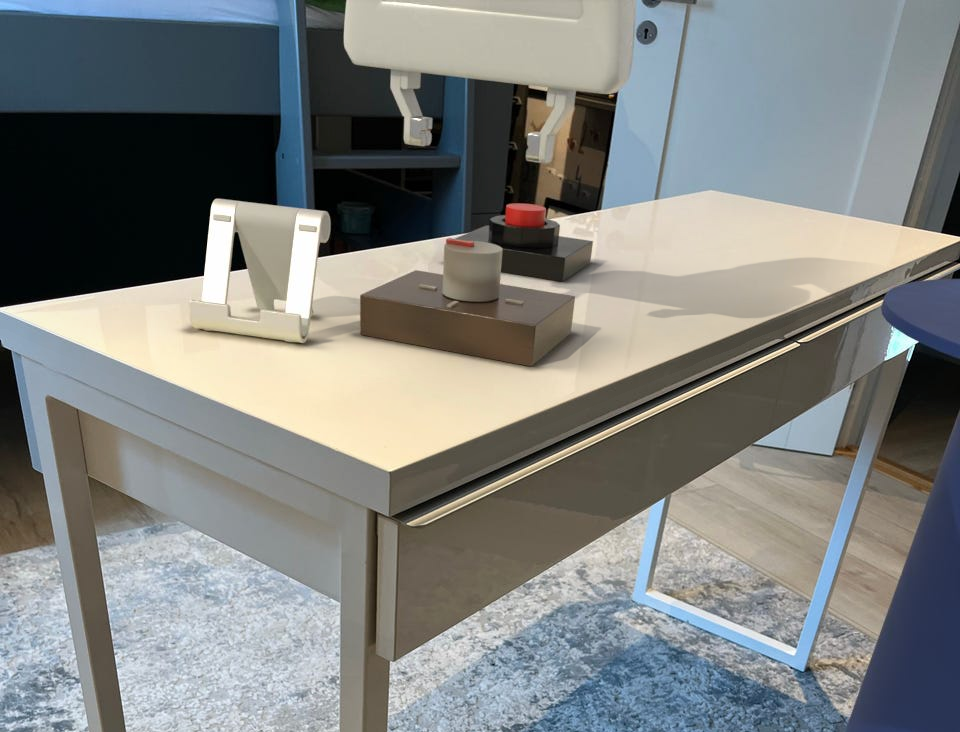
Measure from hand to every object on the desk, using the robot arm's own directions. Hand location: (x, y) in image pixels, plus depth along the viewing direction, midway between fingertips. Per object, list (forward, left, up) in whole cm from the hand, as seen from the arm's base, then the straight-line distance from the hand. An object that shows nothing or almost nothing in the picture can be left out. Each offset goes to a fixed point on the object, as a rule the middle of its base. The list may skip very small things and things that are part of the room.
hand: (477, 153), depth 69 cm
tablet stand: (+14, +7, -13) cm, 20 cm away
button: (+5, -27, -9) cm, 29 cm away
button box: (+5, -27, -13) cm, 30 cm away
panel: (0, 0, -13) cm, 13 cm away
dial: (0, 0, -10) cm, 10 cm away
